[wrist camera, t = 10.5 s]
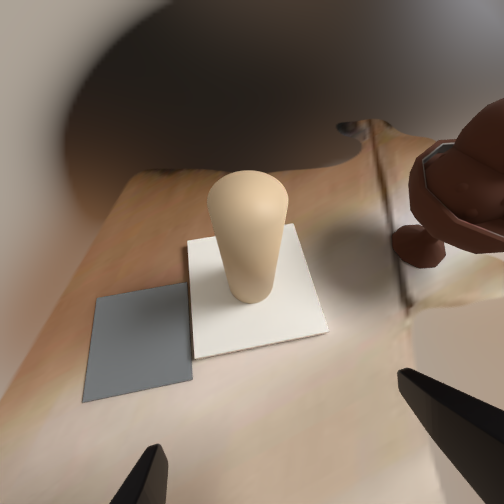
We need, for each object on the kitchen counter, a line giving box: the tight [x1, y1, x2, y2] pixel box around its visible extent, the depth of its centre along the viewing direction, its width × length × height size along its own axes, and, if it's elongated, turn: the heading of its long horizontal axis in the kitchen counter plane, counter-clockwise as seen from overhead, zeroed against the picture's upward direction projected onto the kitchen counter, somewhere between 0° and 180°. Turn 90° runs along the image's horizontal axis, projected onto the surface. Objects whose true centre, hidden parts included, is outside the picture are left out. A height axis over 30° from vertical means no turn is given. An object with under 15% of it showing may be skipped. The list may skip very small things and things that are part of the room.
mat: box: [83, 282, 193, 402], centre depth 22 cm, size 9×9×1 cm
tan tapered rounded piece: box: [207, 171, 288, 304], centre depth 18 cm, size 4×4×12 cm
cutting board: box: [187, 224, 329, 360], centre depth 24 cm, size 12×12×1 cm
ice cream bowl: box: [392, 98, 504, 268], centre depth 19 cm, size 11×11×15 cm
